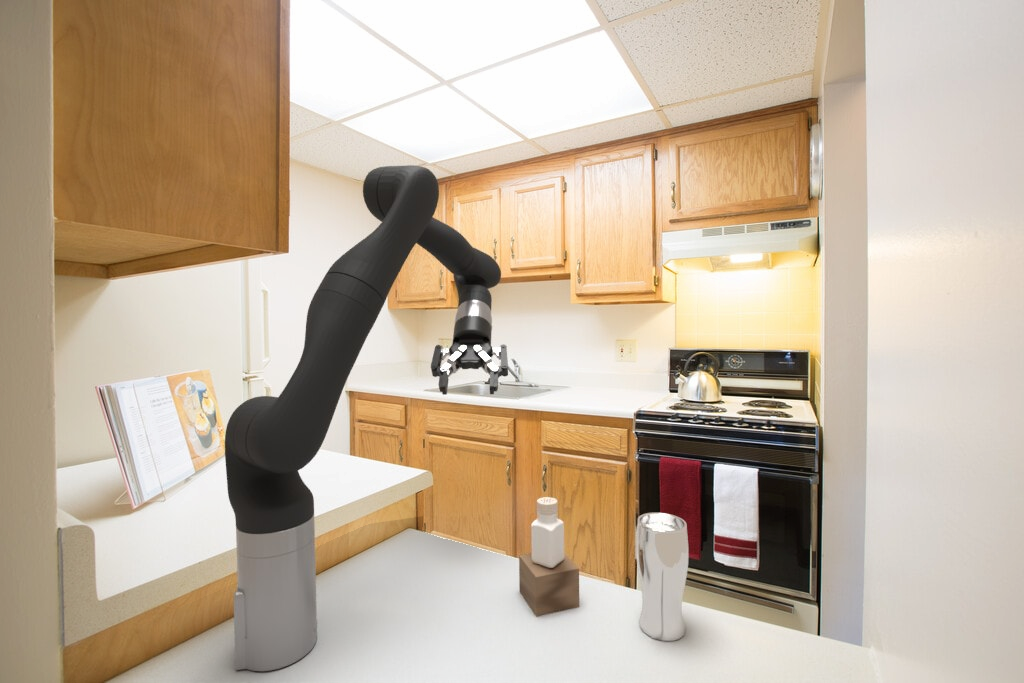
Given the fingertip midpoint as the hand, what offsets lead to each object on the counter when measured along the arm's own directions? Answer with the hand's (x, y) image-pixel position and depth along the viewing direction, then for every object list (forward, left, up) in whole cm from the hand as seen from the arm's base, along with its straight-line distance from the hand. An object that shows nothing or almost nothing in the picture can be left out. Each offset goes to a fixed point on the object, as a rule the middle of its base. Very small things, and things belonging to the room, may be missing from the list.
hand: (468, 391), depth 85 cm
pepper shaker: (+8, -16, -25) cm, 31 cm away
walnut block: (+8, -16, -31) cm, 36 cm away
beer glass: (+20, -28, -31) cm, 46 cm away
